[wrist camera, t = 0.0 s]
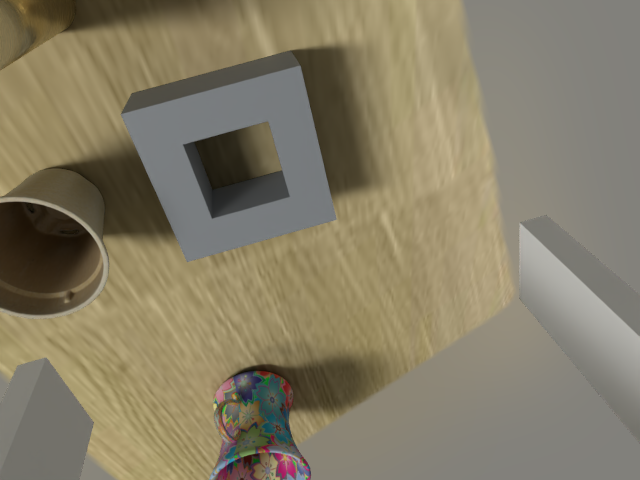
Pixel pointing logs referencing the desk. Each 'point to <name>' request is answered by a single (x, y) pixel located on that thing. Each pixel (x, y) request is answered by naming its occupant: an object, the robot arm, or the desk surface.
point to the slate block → (221, 117)
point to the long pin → (30, 25)
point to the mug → (256, 430)
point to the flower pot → (51, 246)
